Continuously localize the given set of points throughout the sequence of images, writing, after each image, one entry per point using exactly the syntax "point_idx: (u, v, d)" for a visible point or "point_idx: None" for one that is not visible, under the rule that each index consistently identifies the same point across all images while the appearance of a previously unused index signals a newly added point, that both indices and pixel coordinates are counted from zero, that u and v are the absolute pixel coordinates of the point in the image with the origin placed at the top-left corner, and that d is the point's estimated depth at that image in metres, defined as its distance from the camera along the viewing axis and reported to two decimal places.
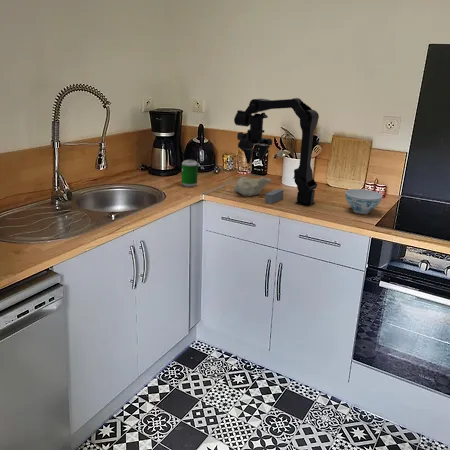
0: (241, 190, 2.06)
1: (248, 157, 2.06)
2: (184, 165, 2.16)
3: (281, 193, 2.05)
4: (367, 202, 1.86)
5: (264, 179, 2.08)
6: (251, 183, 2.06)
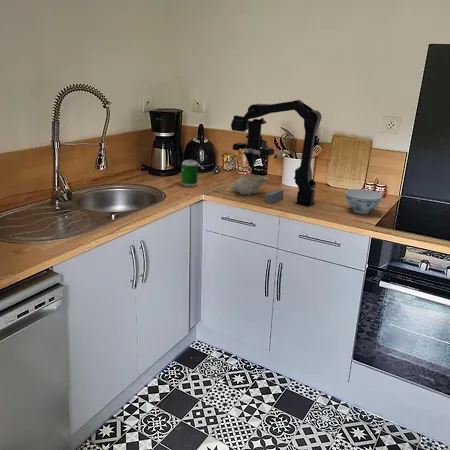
0: (241, 189, 2.07)
1: None
2: (184, 165, 2.16)
3: (281, 193, 2.05)
4: (367, 202, 1.86)
5: (262, 178, 2.10)
6: (250, 182, 2.07)
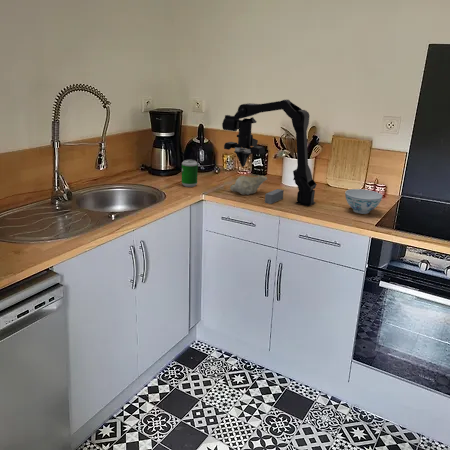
0: (240, 189, 2.07)
1: None
2: (184, 165, 2.16)
3: (281, 193, 2.05)
4: (367, 202, 1.86)
5: (261, 177, 2.11)
6: (249, 182, 2.08)
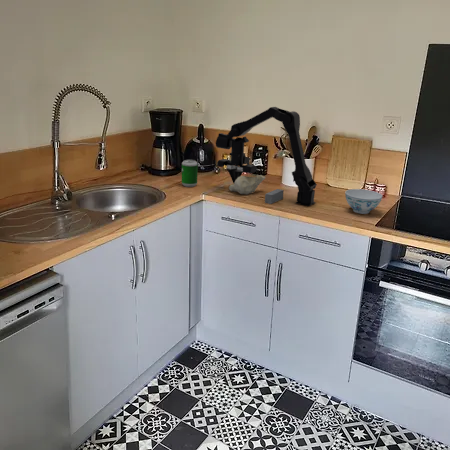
0: (240, 189, 2.08)
1: None
2: (184, 165, 2.16)
3: (281, 193, 2.05)
4: (367, 202, 1.86)
5: (260, 177, 2.12)
6: (248, 181, 2.09)
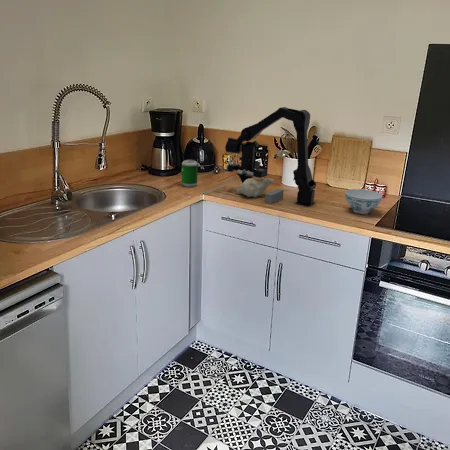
0: (247, 192, 2.03)
1: None
2: (184, 165, 2.16)
3: (281, 193, 2.05)
4: (367, 202, 1.86)
5: (268, 179, 2.07)
6: (256, 184, 2.04)
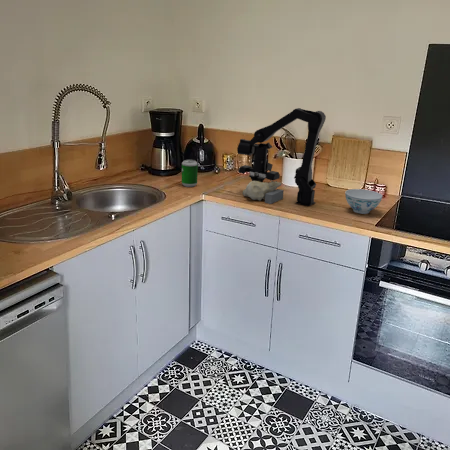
0: (251, 194, 2.00)
1: None
2: (184, 165, 2.16)
3: (281, 193, 2.05)
4: (367, 202, 1.86)
5: (274, 183, 2.02)
6: (260, 187, 2.00)
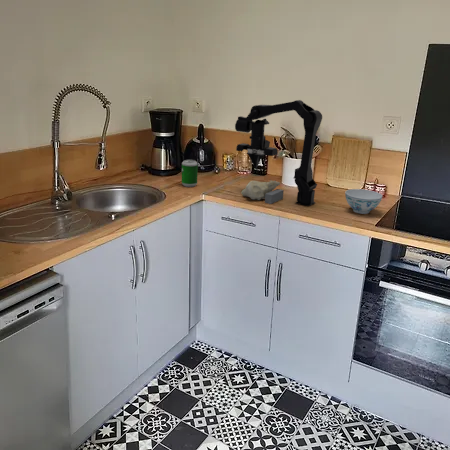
0: (251, 194, 2.00)
1: None
2: (184, 165, 2.16)
3: (281, 193, 2.05)
4: (367, 202, 1.86)
5: (273, 182, 2.03)
6: (260, 187, 2.01)
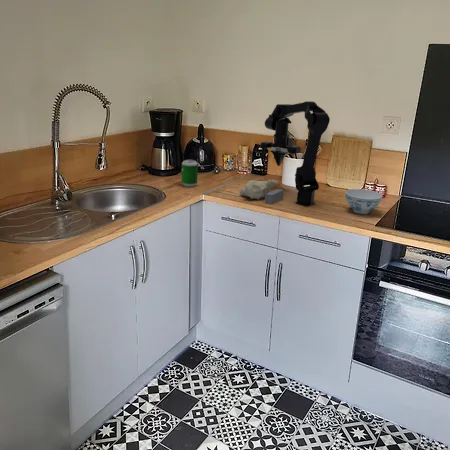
0: (250, 193, 2.01)
1: None
2: (184, 165, 2.16)
3: (281, 193, 2.05)
4: (367, 202, 1.86)
5: (272, 181, 2.05)
6: (259, 186, 2.02)
